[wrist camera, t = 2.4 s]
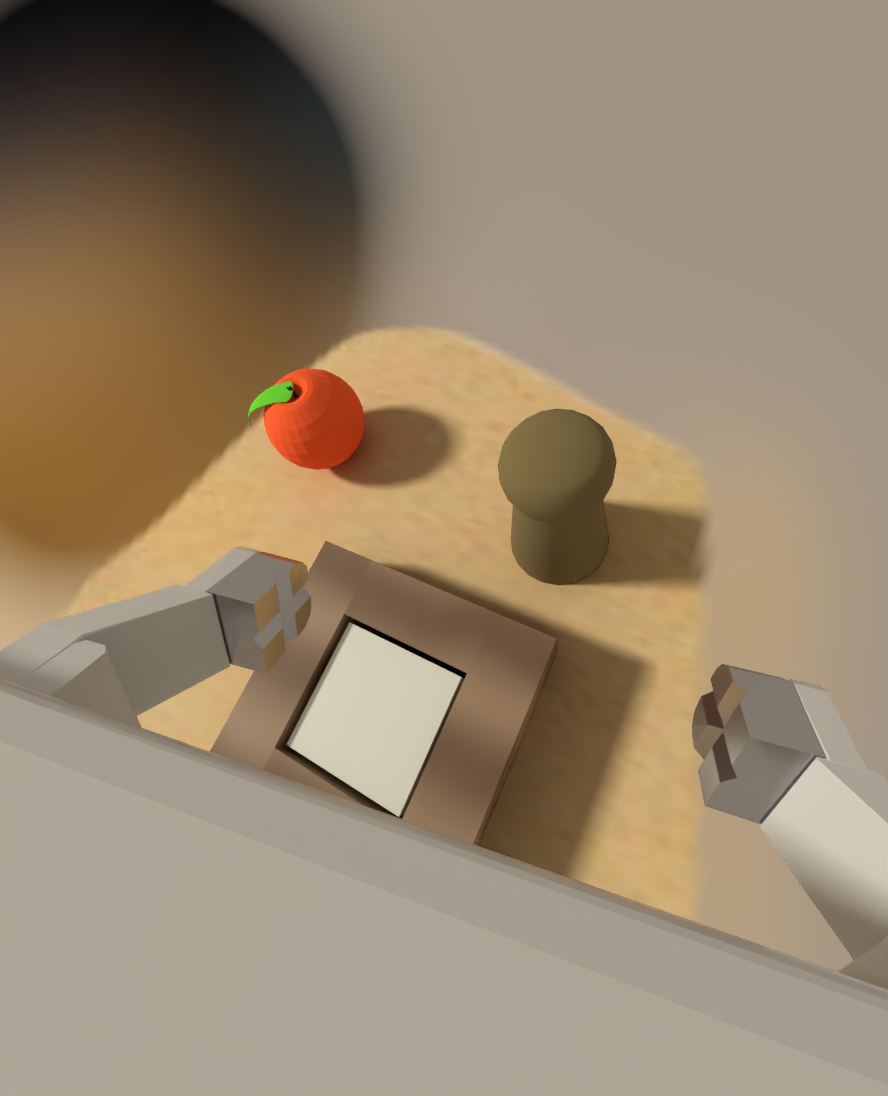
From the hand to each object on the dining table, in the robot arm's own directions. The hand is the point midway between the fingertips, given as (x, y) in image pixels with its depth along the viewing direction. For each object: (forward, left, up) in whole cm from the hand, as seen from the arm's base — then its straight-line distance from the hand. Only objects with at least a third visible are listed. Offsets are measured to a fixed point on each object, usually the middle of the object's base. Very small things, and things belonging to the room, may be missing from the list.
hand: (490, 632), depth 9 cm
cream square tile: (-5, +8, -17) cm, 19 cm away
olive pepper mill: (+9, +3, -20) cm, 22 cm away
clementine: (+10, +22, -20) cm, 31 cm away
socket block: (-5, +8, -19) cm, 21 cm away
